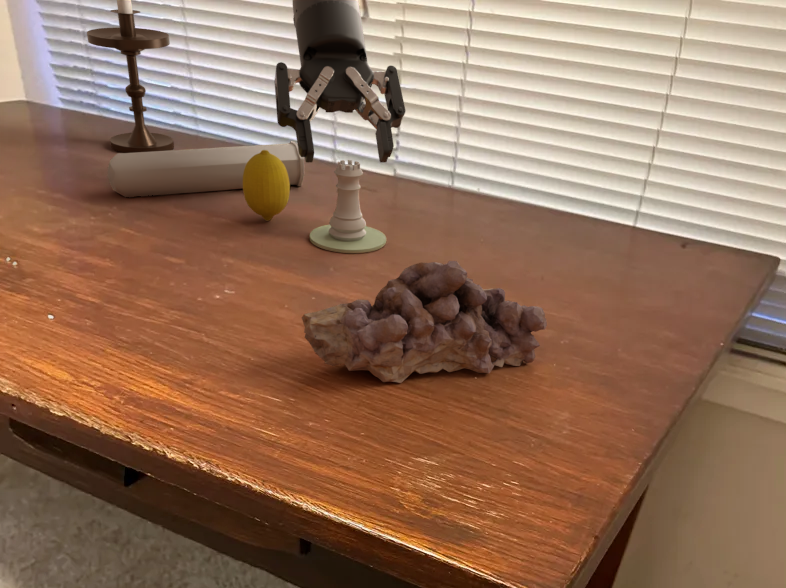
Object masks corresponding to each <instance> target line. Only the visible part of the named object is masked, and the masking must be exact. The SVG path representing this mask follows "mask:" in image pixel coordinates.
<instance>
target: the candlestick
mask: <svg viewBox="0 0 786 588" xmlns="http://www.w3.org/2000/svg"><path fill="white" fill-rule="evenodd" d="M116 5H117V9H110V10H109V12H111V13H115V14H117V18H118V19H117V20H118V26H119V27H101V28H93V29H89V30H87V31H86V37H87V42H88V43H89V44H90V45H93V46H97V47H102V48H109V49H115V50H117V51H119V52H120V54H121V55H123V56H125V58H126V65H127V72H128V78H129V79H128V80H129V83H128V84H127V85H126V86H125V88H124V90H125V93H126V95H127V96H128V97H130V101H131V106H129V107H128V110H129V111H130V112H132V113H133V118H134V127H133V129H132V131H131V132H125V133H119V134H116V135H114V136H112V137H110V139H109V141H110V148H111V150H113V151H116V152H118V153H136V152H153V151H169V150H174V148H175V144H174V139H173V137H171V136H169V135H166V134H163V133H158V132H151V131H150V130H149V129H148V128H147V126H146V123H145V116H144V115H145V114H144V112H147V111H148V110H147V107H146V106H144V103H143V98H145V95H146V91H147V89H146V87H145V86H144V85H142V84H141V83H140V75H139V69H138V60H137V56H139V55H141V54H142V51H145V50H153V49H161V48H162V49H163V48H166V47H168V46H170V45H171V43H170V35H169V33H167V32H164V31H161V30H157V29H150V28H141V27H140V28H139V27H136V23H135V22H136V21H135V14H140V13H141V11H140V10H136V9H135V10H134V9H133V5H132V0H116Z"/></svg>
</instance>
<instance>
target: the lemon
mask: <svg viewBox="0 0 786 588" xmlns="http://www.w3.org/2000/svg"><path fill="white" fill-rule="evenodd" d="M242 191H243V196H244V200H245V202H246V204H247V206H248V207H249V208H250V210H251V211H253V212H254V213H255V214H256V215H259V216H260V217H261V218H262V219H263V220H264V221H266V222H268V221H271V220H272V219H273V218H274V217H275V216H277V215H279V214H281V212H283V211H284V209H286V207H287V205H288V202H289V199H290V191H291V185H290V183H289V177H288V173H287V170H286V168H285V166H284V164H283V163H282V161H281V160H280V159H279V158H278V157H276V156H275V155H273V154H270V153H269V152H268V150H262V151H261V152H260V153H258V154H256V155H254V156H253V157H252V158H251V159H250V160H249V161H248V162H247V164H246V166H245V169H244V173H243V189H242Z"/></svg>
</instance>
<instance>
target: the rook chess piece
mask: <svg viewBox="0 0 786 588" xmlns="http://www.w3.org/2000/svg"><path fill="white" fill-rule="evenodd" d="M353 163H354V164H353ZM333 173H334V174H335V176H336V177H337V183H336V184H335V187H336V188H337V197H336V204H335V209H334V211H333V212H332V216H331V217H330V219H329V222H328V223H329V224H328V225H331V228H330V229H329V233H330V234H331V236H332V237H333V238H335V239H337V240H341V241H357V240H361V239H362V238H363V237H364V236H365V235H366V231H365V230H364V228H365V226H367V222H366V220H365V219H364V217H363V215H364V214H363V213H362V210H361V203H360V189H361V185H360V179H361V178H362V176H363V174H364V172H363V170H362V168H361V163H360V162H359V161H354V162H353V159H348V160H347V164H346V161H345V159H343V160H340V161H337V167H336V168H335V169H334V171H333Z"/></svg>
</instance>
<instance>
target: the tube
mask: <svg viewBox="0 0 786 588" xmlns="http://www.w3.org/2000/svg"><path fill="white" fill-rule="evenodd" d="M262 150H268V152H269V153H270V154H273V155H275V156H276V157H278V158H279V159H280V160H281V161H282V163H283V164H284V166H285V168H286V170H287V173H288V177H289V183H290V186H291V185H292V186H293V185H295V186H297V187H302V185H303V181H304V178H305V157H301V156H300V154H299V151H298V144H297V141H294V140H290V142H287V143H275V144H274V143H273V144H257V145H255V144H254V145H240V146H239V145H238V146H223V147H221V146H220V147H205V148H189V149H172V150H169V151H153V152H136V153H122V152H118V153H116V154H115V155H114V156H113V157H112V158H111V159H110V160H109V163H108V165H107V176H106V177H107V179H108V182H109V184H110V187H111V189H112V191H114V192H116V193H117V194H119V195H120V196H123V197H125V198H126V197H129V198H135V197H134V196H141V197H151V196H152V195H153V196H165V195H178V194H179V195H180V194H190V193H205V192H216V191H217V192H218V191H230V190H241V189H242V190H243V173H244V169H245V166H246V164H247V162H248V161H249V160H250V159H251V158H252V157H253V156H254V155H256V154H258V153H260V152H261V151H262ZM148 195H149V196H148Z"/></svg>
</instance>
